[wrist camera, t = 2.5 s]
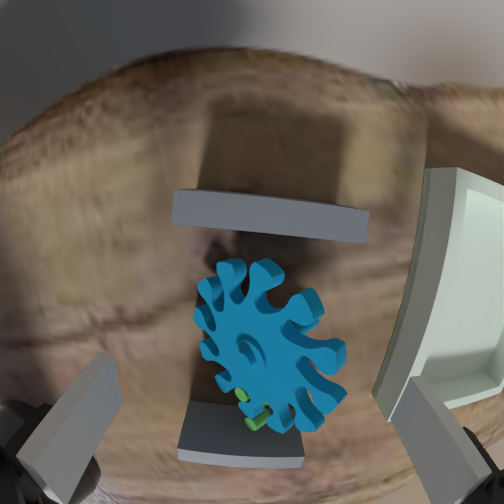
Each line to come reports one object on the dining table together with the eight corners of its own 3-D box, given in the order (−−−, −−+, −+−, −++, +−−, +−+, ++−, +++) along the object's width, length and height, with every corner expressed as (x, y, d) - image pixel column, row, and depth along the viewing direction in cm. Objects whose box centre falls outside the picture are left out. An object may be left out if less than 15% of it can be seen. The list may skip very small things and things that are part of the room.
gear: (183, 235, 15) (364, 321, 8) (261, 221, 19) (410, 273, 12) (189, 385, 19) (298, 475, 12) (248, 353, 23) (351, 419, 16)
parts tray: (371, 393, 19) (386, 422, 16) (424, 168, 16) (457, 166, 12) (481, 375, 20) (500, 392, 16) (529, 207, 16) (555, 212, 13)
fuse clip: (189, 412, 19) (178, 459, 14) (196, 188, 16) (173, 189, 11) (292, 420, 20) (300, 467, 15) (335, 203, 16) (370, 211, 11)
